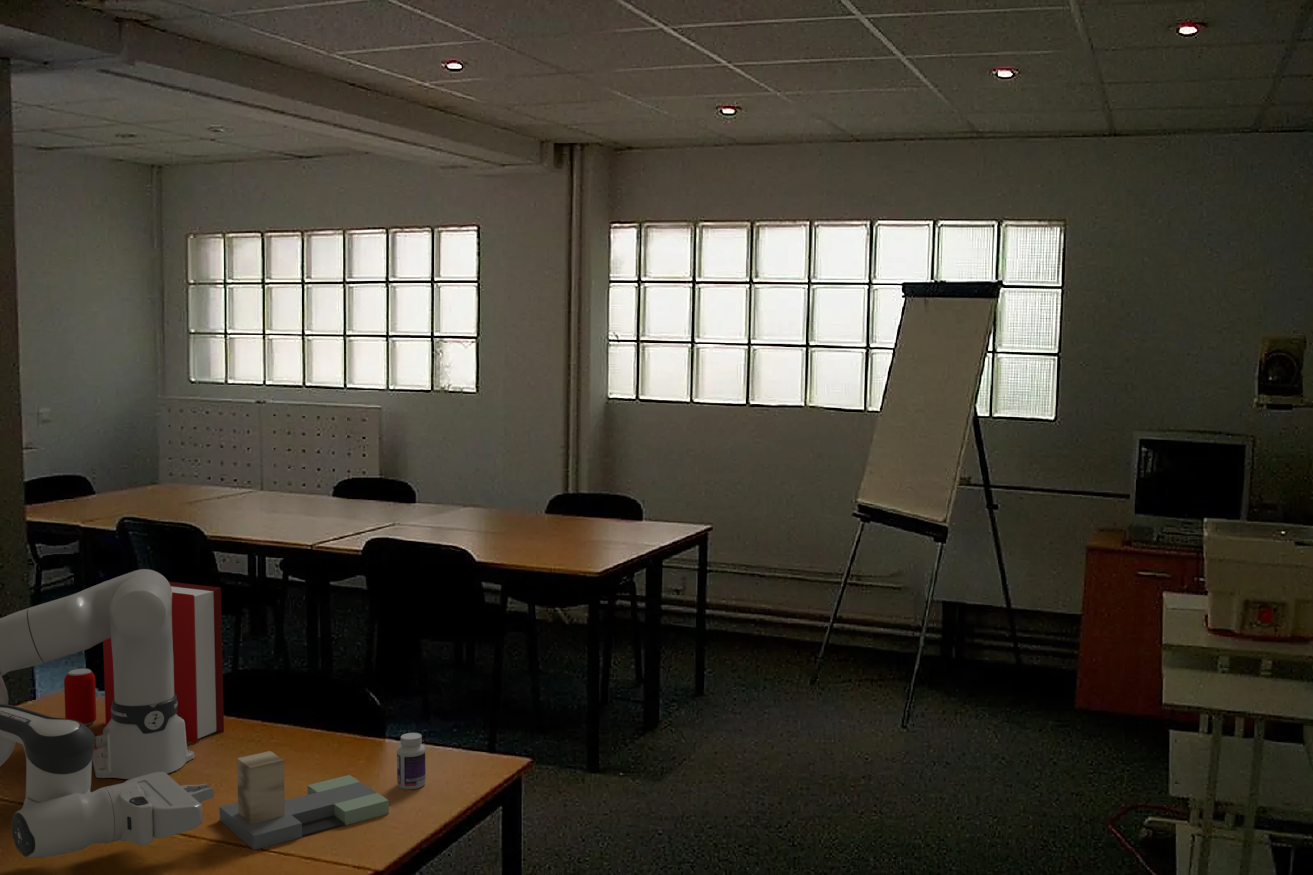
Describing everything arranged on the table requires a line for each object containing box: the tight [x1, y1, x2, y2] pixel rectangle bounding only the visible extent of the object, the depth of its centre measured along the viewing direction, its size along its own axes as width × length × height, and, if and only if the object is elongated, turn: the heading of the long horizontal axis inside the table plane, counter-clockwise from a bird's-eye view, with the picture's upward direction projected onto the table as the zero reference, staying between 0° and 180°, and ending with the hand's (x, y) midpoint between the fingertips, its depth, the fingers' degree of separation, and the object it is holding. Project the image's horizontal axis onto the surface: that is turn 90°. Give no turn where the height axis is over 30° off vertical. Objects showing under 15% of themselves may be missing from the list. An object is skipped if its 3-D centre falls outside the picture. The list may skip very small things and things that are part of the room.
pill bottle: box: [396, 732, 427, 790], centre depth 232 cm, size 5×5×10 cm
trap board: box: [218, 774, 390, 851], centre depth 217 cm, size 16×25×2 cm, turn 130°
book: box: [101, 580, 225, 744], centre depth 262 cm, size 27×8×32 cm, turn 67°
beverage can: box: [63, 668, 97, 727], centre depth 266 cm, size 6×6×12 cm
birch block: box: [236, 750, 285, 824], centre depth 211 cm, size 6×6×10 cm
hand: (211, 790), depth 205 cm, fingers closed
